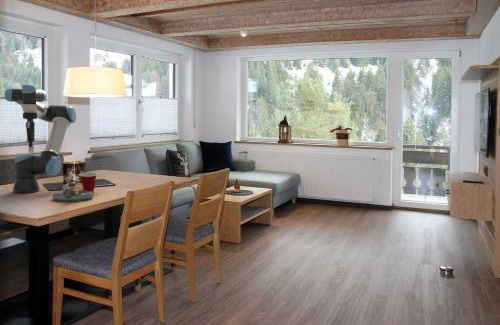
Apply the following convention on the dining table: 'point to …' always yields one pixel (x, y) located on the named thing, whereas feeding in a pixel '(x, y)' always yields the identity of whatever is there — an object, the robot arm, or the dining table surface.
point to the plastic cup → (88, 180)
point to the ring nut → (72, 188)
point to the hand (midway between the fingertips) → (31, 152)
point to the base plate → (73, 196)
